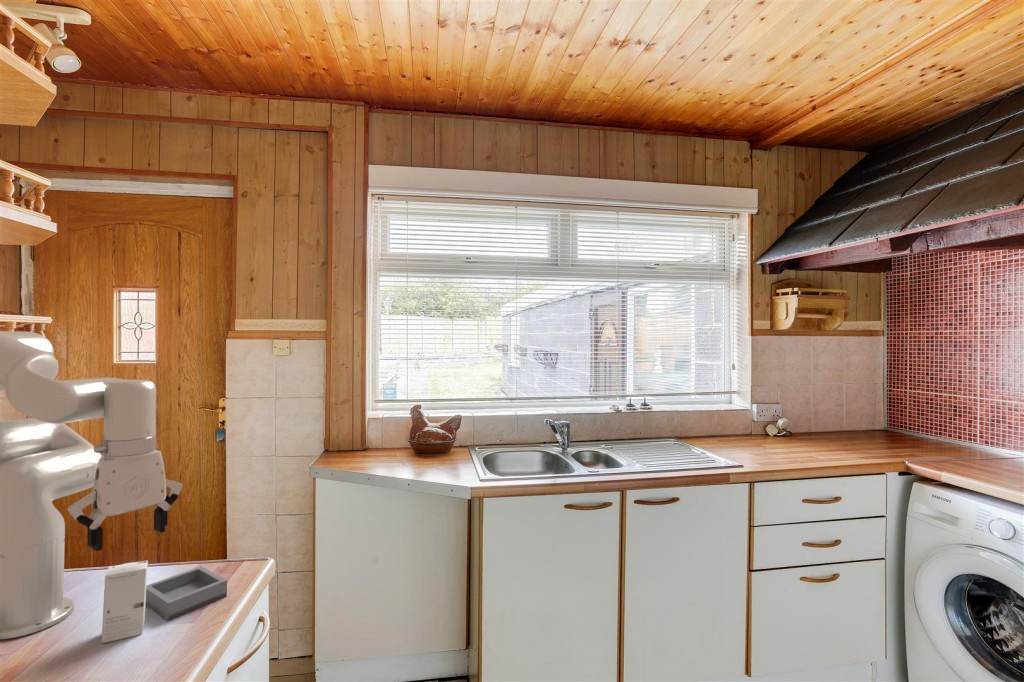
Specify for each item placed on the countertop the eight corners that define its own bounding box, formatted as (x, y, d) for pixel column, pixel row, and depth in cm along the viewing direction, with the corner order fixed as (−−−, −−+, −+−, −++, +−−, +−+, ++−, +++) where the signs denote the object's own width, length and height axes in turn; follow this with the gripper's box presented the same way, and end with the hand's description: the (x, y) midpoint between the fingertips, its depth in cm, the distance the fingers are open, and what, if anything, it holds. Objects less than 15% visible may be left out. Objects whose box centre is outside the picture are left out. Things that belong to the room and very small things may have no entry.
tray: (142, 603, 99) (143, 586, 99) (200, 581, 108) (201, 566, 108) (167, 621, 93) (168, 603, 93) (226, 596, 102) (227, 580, 102)
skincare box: (100, 644, 86) (102, 576, 86) (104, 631, 89) (106, 566, 89) (144, 634, 89) (146, 568, 89) (146, 621, 93) (148, 558, 93)
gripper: (77, 459, 80) (76, 562, 80) (191, 441, 94) (190, 528, 94) (61, 453, 84) (60, 551, 84) (173, 437, 98) (172, 521, 98)
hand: (129, 539), depth 89 cm, fingers open, 9 cm apart
